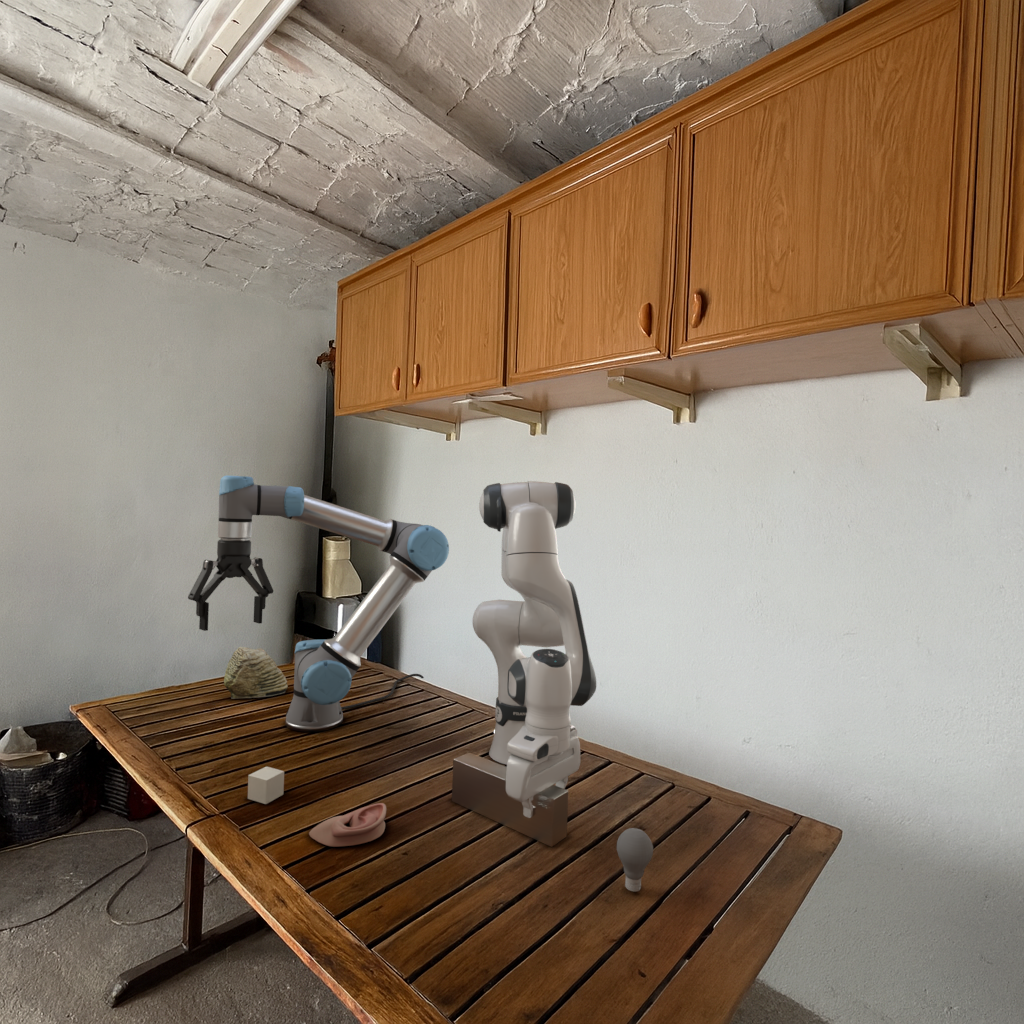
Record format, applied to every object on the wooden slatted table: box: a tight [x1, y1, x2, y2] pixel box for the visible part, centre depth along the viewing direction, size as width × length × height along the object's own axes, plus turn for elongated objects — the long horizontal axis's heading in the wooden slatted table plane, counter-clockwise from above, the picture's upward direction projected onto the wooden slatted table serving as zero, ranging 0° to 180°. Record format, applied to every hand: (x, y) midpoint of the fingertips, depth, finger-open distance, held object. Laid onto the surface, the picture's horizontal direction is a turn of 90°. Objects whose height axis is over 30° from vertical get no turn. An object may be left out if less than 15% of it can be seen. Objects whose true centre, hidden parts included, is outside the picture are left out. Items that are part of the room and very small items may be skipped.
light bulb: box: [616, 827, 654, 893], centre depth 106 cm, size 6×6×10 cm
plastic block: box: [247, 766, 285, 805], centre depth 133 cm, size 5×5×5 cm
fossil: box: [223, 646, 289, 700], centre depth 198 cm, size 9×18×15 cm, turn 132°
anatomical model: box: [308, 802, 387, 848], centre depth 120 cm, size 13×4×12 cm
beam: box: [451, 752, 569, 848], centre depth 128 cm, size 5×26×9 cm, turn 51°
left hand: (231, 626), depth 154 cm, fingers open, 13 cm apart
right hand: (543, 807), depth 122 cm, fingers open, 8 cm apart
